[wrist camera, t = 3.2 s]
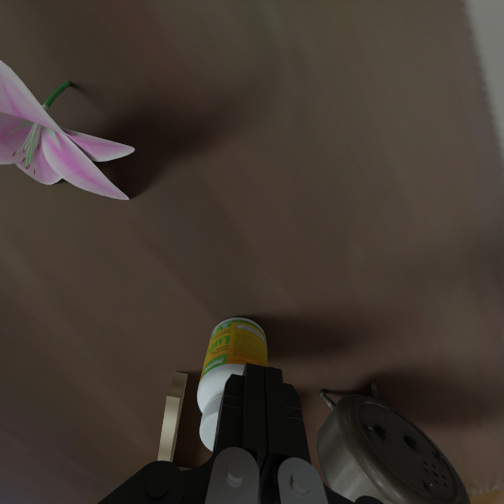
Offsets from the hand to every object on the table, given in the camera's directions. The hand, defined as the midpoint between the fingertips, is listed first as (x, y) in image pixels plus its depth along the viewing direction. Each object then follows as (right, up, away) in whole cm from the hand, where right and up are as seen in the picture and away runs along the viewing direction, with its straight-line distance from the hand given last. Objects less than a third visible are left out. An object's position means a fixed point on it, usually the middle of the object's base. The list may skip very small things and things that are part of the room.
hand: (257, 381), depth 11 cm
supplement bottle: (-2, -3, +15) cm, 16 cm away
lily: (-14, +14, +10) cm, 22 cm away
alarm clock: (+11, -10, +17) cm, 23 cm away
